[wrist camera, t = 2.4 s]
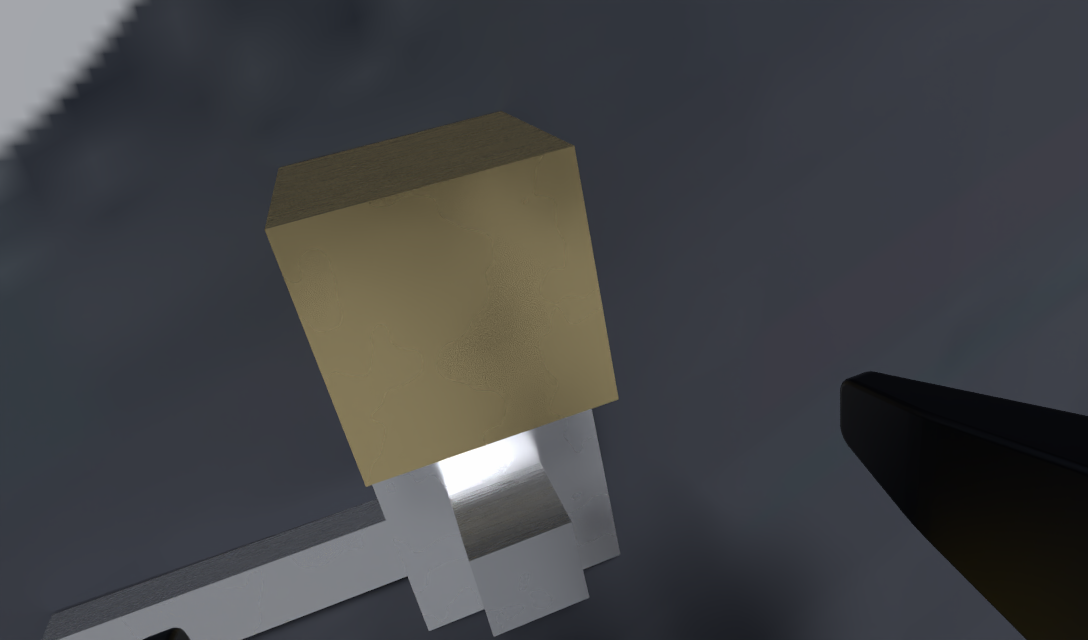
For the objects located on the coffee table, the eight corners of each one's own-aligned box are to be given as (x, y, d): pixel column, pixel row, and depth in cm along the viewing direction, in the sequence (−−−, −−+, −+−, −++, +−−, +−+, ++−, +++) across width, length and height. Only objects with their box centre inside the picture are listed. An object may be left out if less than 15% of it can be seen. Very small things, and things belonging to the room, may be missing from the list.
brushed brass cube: (501, 110, 19) (574, 145, 14) (543, 306, 22) (618, 399, 16) (278, 167, 18) (264, 229, 13) (352, 366, 20) (366, 486, 15)
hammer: (571, 368, 23) (627, 440, 19) (604, 527, 26) (658, 618, 22) (11, 558, 20) (-64, 693, 16) (124, 714, 23) (86, 860, 19)
